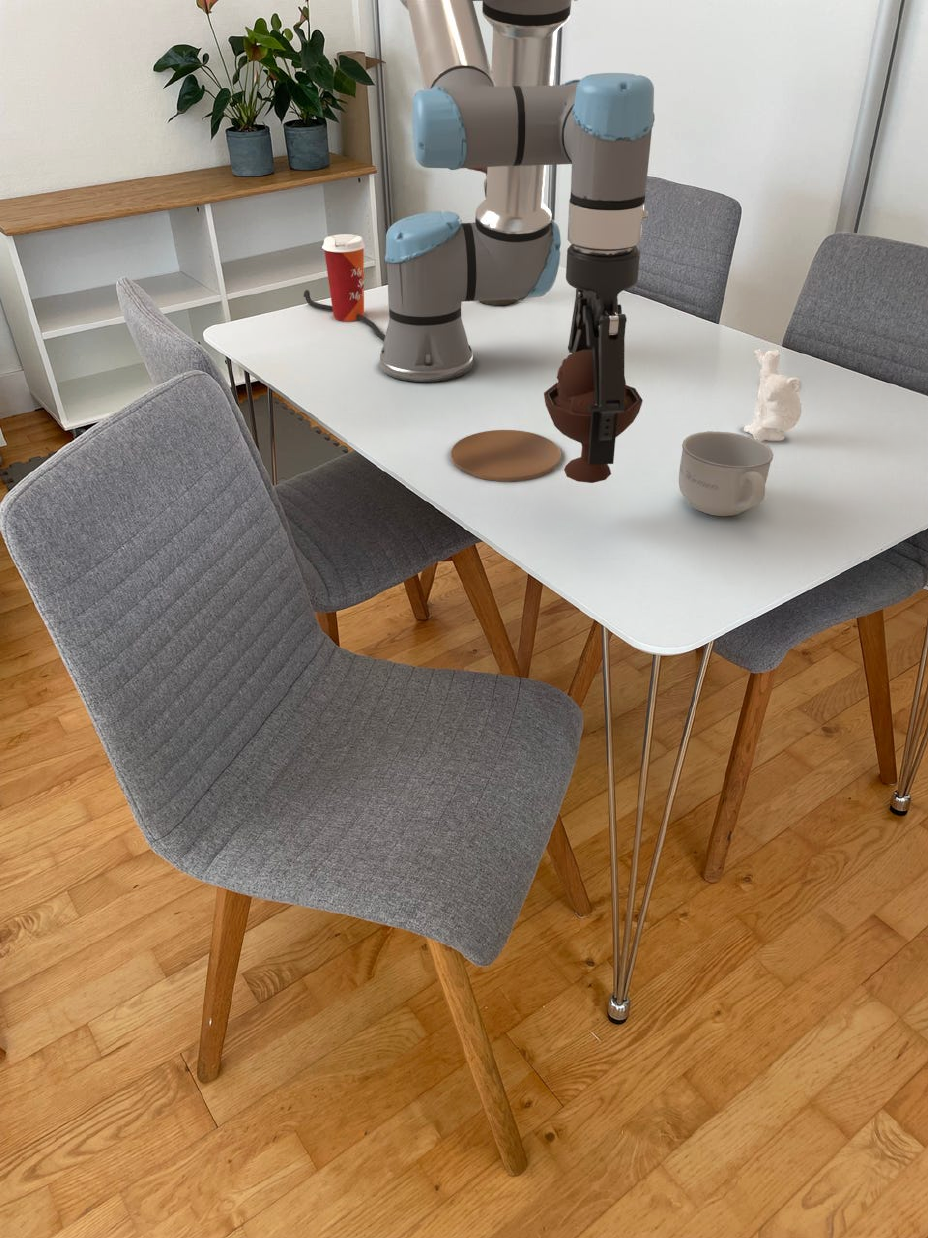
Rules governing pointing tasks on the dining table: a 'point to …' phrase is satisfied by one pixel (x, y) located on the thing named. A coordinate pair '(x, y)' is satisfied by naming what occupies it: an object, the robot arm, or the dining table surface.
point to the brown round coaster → (505, 455)
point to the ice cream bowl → (583, 412)
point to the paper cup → (345, 275)
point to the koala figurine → (774, 400)
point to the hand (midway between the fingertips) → (589, 439)
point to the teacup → (723, 472)
